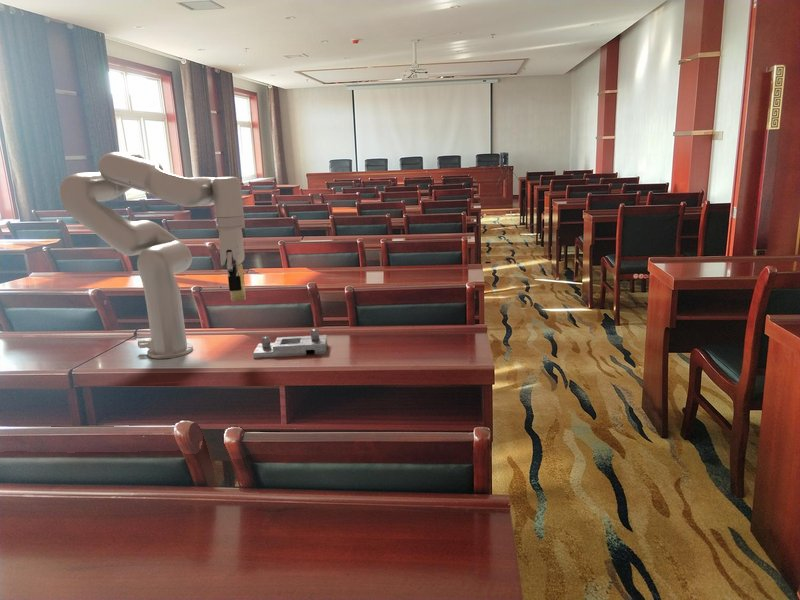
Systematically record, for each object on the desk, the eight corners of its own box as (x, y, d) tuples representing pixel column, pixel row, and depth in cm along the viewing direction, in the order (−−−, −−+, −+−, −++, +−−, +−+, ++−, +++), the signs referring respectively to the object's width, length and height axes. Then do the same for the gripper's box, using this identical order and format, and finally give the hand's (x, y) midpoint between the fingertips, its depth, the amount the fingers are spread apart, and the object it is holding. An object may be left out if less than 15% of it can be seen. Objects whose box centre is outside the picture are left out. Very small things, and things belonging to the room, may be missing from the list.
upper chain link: (273, 357, 169) (271, 336, 167) (277, 347, 177) (276, 327, 176) (325, 354, 169) (324, 333, 168) (327, 344, 178) (325, 325, 177)
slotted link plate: (253, 358, 168) (252, 342, 167) (259, 348, 177) (257, 333, 176) (306, 355, 169) (304, 339, 168) (308, 345, 178) (307, 330, 177)
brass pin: (229, 301, 167) (225, 266, 165) (232, 298, 171) (229, 263, 168) (244, 300, 167) (240, 265, 165) (247, 297, 171) (243, 262, 169)
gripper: (223, 220, 172) (230, 283, 176) (208, 227, 156) (216, 296, 160) (249, 219, 172) (255, 282, 176) (238, 225, 156) (245, 294, 160)
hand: (237, 288), depth 168 cm, fingers closed on brass pin, 4 cm apart
